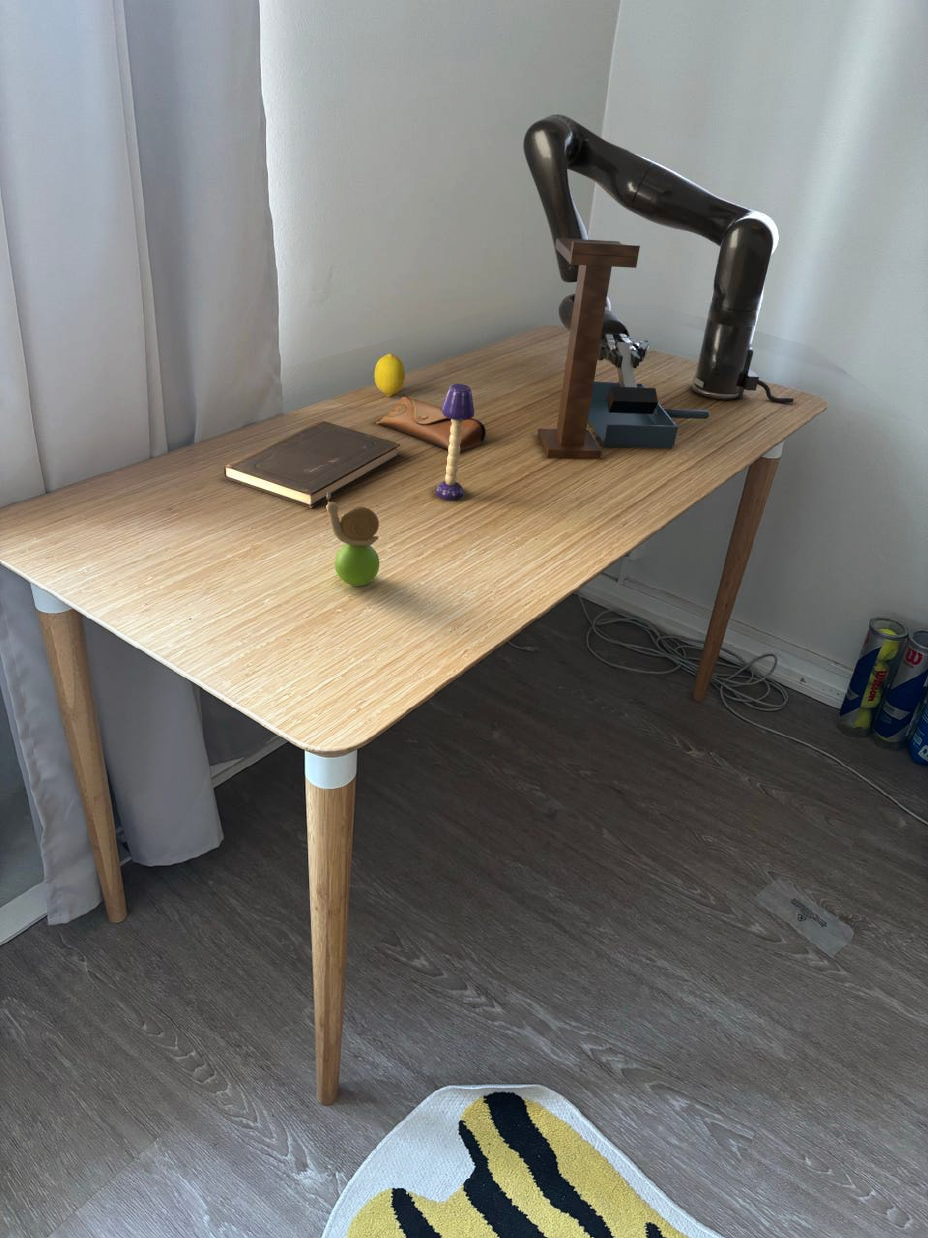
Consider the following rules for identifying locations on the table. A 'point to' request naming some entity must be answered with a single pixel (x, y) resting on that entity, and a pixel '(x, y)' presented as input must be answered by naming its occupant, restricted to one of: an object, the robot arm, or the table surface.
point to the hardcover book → (313, 463)
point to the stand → (584, 343)
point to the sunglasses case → (431, 424)
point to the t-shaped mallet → (630, 389)
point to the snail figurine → (355, 543)
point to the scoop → (635, 422)
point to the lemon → (389, 374)
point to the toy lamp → (455, 437)
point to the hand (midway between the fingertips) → (627, 362)
